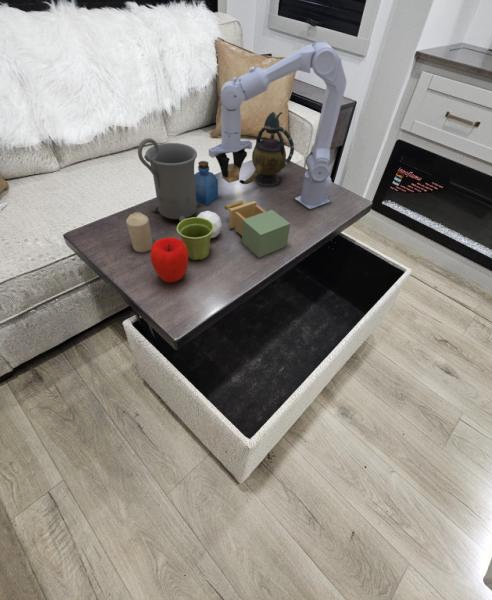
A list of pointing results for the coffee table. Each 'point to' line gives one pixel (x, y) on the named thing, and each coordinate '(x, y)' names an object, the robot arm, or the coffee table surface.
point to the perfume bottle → (205, 184)
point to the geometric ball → (214, 219)
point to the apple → (169, 258)
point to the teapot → (270, 153)
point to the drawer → (242, 213)
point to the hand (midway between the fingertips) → (230, 174)
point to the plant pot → (196, 236)
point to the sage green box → (265, 233)
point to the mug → (172, 177)
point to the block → (232, 173)
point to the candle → (139, 232)
